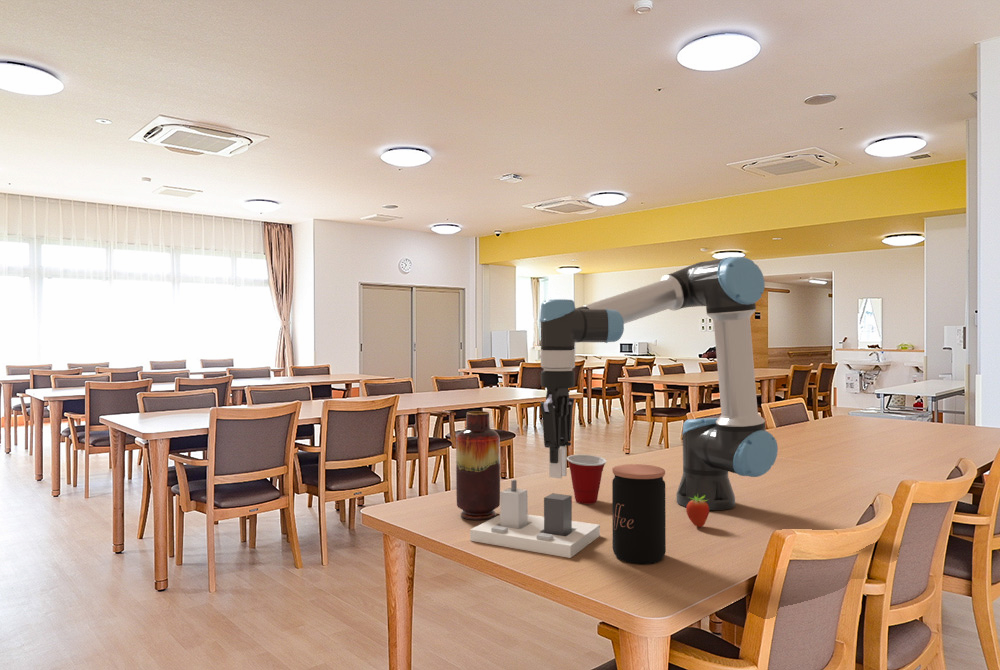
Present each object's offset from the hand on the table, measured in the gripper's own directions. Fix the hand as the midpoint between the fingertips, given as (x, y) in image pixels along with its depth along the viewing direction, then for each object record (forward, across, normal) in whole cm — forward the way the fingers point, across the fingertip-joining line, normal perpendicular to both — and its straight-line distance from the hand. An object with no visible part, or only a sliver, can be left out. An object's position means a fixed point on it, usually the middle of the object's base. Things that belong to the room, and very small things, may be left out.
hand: (558, 476), depth 146 cm
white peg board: (+14, 0, -6) cm, 15 cm away
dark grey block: (+14, 0, 0) cm, 14 cm away
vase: (+15, -10, -26) cm, 32 cm away
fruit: (+15, -26, +24) cm, 39 cm away
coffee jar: (+15, +1, +18) cm, 24 cm away
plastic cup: (+15, -36, -8) cm, 40 cm away
